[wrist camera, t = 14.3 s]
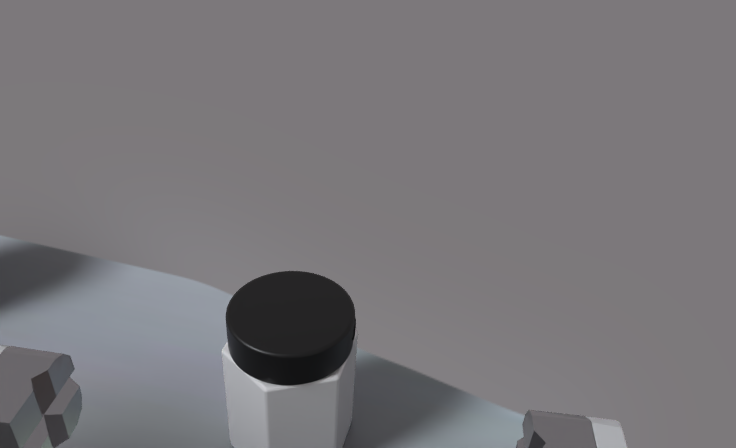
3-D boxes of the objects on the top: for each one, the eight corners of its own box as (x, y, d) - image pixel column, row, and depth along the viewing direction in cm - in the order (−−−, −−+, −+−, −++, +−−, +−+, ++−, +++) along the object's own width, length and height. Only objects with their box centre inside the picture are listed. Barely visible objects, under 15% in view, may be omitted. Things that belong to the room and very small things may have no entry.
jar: (375, 438, 47) (387, 315, 40) (288, 509, 42) (286, 382, 35) (296, 370, 52) (295, 251, 45) (210, 426, 47) (195, 302, 40)
